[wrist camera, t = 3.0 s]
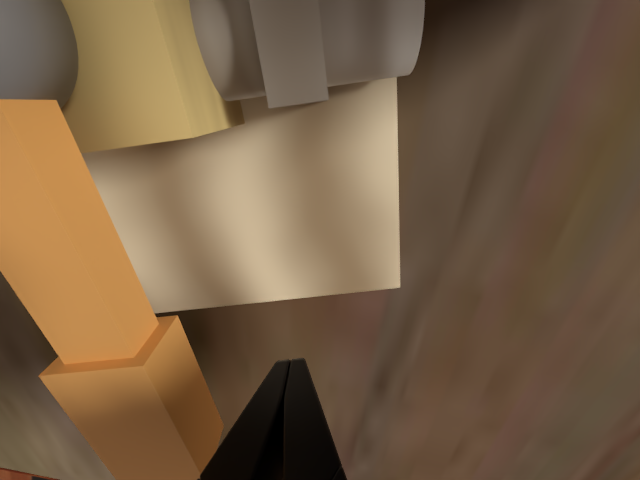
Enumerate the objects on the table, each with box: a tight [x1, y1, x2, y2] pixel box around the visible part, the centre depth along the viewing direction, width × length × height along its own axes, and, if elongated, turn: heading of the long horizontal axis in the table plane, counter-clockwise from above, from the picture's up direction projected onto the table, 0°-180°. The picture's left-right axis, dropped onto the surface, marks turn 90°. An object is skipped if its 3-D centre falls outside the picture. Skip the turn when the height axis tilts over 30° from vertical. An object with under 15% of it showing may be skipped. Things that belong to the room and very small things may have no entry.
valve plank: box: [61, 0, 425, 313], centre depth 10 cm, size 18×16×7 cm
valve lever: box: [0, 0, 224, 480], centre depth 7 cm, size 3×14×2 cm, turn 8°
